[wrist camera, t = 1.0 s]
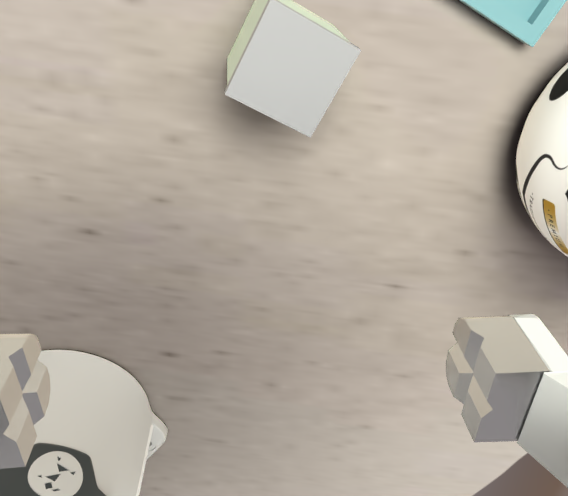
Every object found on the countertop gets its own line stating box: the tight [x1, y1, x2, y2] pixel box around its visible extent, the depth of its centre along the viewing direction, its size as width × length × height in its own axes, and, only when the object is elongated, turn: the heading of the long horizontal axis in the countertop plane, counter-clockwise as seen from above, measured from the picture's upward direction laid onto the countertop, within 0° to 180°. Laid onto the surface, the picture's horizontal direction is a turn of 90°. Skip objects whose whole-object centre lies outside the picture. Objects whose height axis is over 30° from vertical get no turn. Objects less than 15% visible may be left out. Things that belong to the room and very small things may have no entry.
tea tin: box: [225, 0, 361, 138], centre depth 31 cm, size 5×5×8 cm
